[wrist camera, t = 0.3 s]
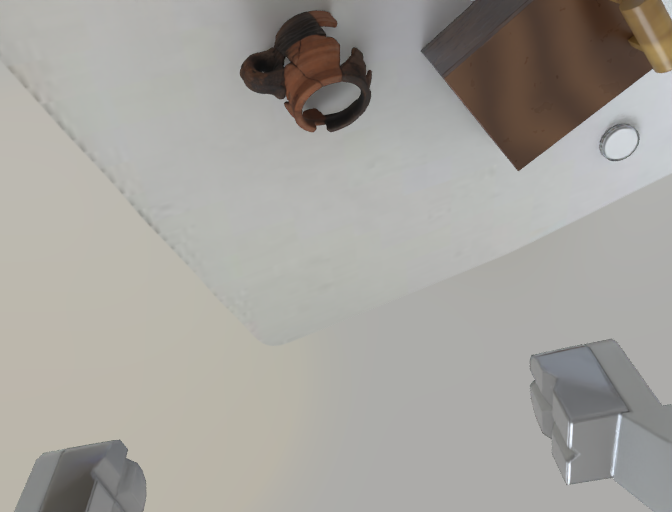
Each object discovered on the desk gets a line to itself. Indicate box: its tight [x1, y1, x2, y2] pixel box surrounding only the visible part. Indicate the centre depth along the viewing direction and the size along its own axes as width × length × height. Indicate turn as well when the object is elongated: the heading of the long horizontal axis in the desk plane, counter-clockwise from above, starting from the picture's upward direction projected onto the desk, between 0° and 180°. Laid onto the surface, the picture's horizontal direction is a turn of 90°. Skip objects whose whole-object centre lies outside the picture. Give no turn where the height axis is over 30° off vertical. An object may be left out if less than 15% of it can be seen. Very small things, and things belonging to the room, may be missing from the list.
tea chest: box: [421, 0, 528, 150], centre depth 51 cm, size 14×12×8 cm
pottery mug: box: [240, 10, 372, 132], centre depth 52 cm, size 12×10×8 cm
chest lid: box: [442, 0, 672, 171], centre depth 45 cm, size 15×12×7 cm
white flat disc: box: [600, 124, 640, 161], centre depth 61 cm, size 4×4×1 cm
